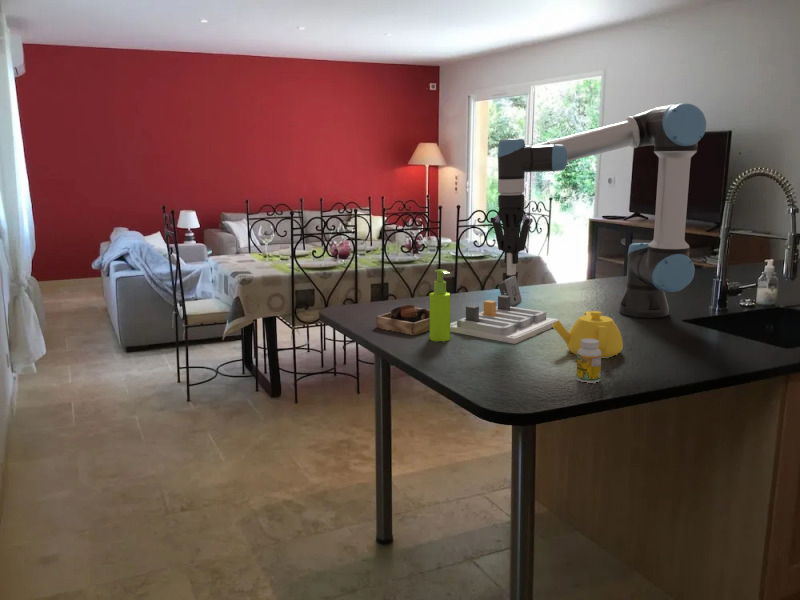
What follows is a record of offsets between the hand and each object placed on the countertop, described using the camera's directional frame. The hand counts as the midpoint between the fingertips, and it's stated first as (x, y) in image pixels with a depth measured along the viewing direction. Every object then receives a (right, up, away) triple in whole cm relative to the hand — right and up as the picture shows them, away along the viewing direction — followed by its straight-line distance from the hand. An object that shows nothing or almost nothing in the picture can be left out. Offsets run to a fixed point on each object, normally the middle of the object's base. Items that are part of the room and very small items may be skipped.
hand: (511, 274), depth 204 cm
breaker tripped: (-6, -14, +7) cm, 16 cm away
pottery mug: (-30, -16, +5) cm, 34 cm away
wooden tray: (-29, -15, +8) cm, 34 cm away
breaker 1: (-12, -15, +1) cm, 19 cm away
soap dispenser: (-21, -19, -8) cm, 29 cm away
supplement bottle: (+11, -26, -43) cm, 52 cm away
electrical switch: (+5, -9, +37) cm, 38 cm away
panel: (-2, -16, +5) cm, 17 cm away
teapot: (+16, -22, -21) cm, 34 cm away
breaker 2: (0, -12, +14) cm, 19 cm away
